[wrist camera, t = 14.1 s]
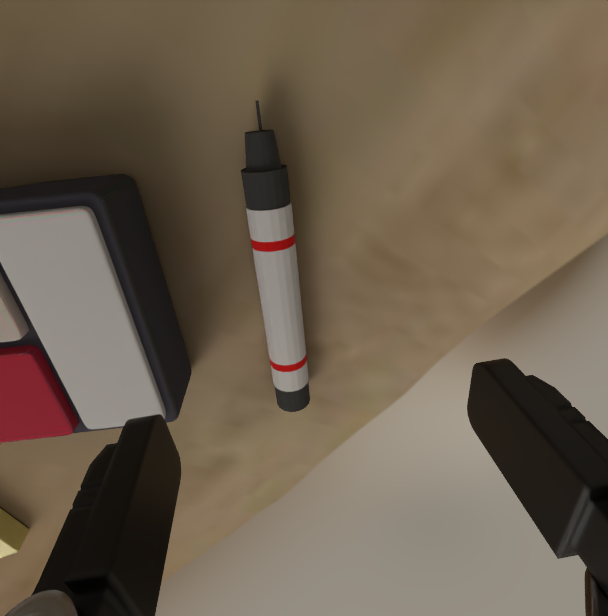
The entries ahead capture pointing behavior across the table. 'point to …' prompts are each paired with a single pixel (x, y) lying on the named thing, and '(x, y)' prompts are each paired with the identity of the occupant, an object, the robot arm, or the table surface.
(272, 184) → the marker
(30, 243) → the calculator
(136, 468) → the robot arm
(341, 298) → the table surface
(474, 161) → the table surface
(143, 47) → the table surface
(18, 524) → the sticky pad
